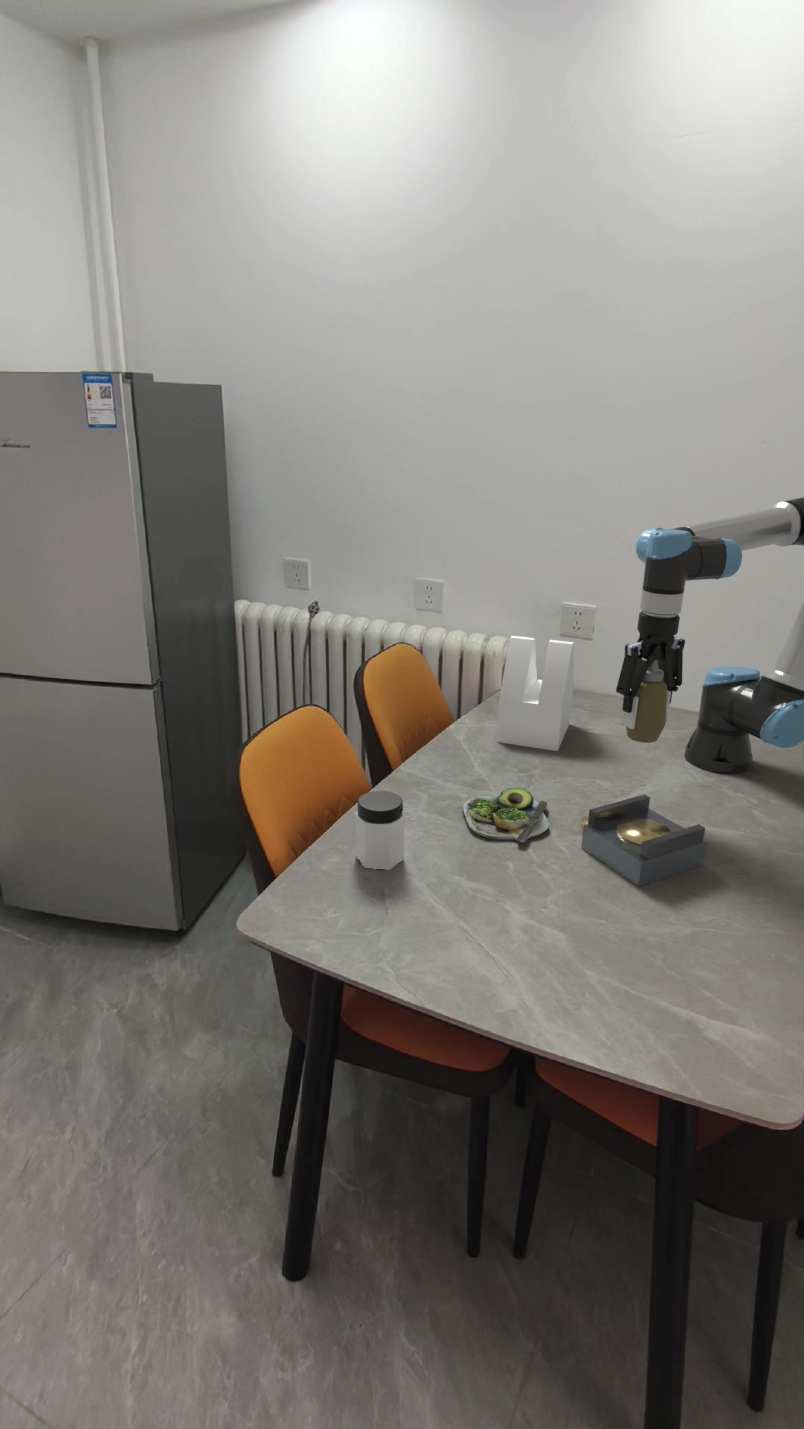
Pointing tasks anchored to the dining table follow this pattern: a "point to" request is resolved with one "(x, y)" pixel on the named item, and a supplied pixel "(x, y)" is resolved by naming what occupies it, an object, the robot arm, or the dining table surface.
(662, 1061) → the dining table surface
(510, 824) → the avocado toast plate
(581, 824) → the brass dome knob
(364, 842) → the jar
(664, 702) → the squeeze bottle
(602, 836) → the grey rimmed block
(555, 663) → the white notched stand
